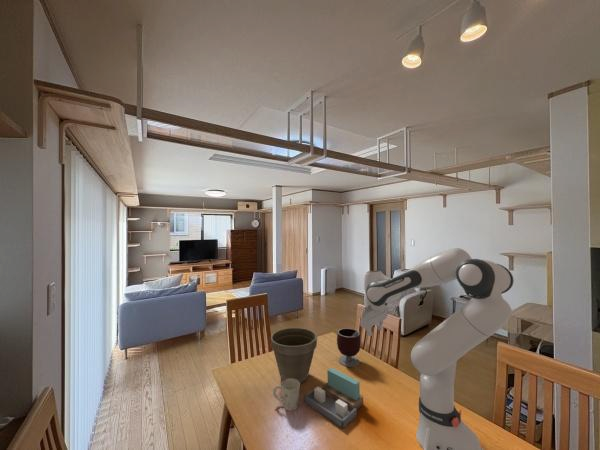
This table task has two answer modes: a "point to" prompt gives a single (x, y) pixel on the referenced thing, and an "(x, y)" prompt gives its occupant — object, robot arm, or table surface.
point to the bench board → (342, 397)
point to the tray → (329, 410)
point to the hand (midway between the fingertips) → (374, 332)
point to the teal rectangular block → (343, 383)
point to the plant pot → (294, 352)
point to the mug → (289, 393)
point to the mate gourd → (348, 346)
